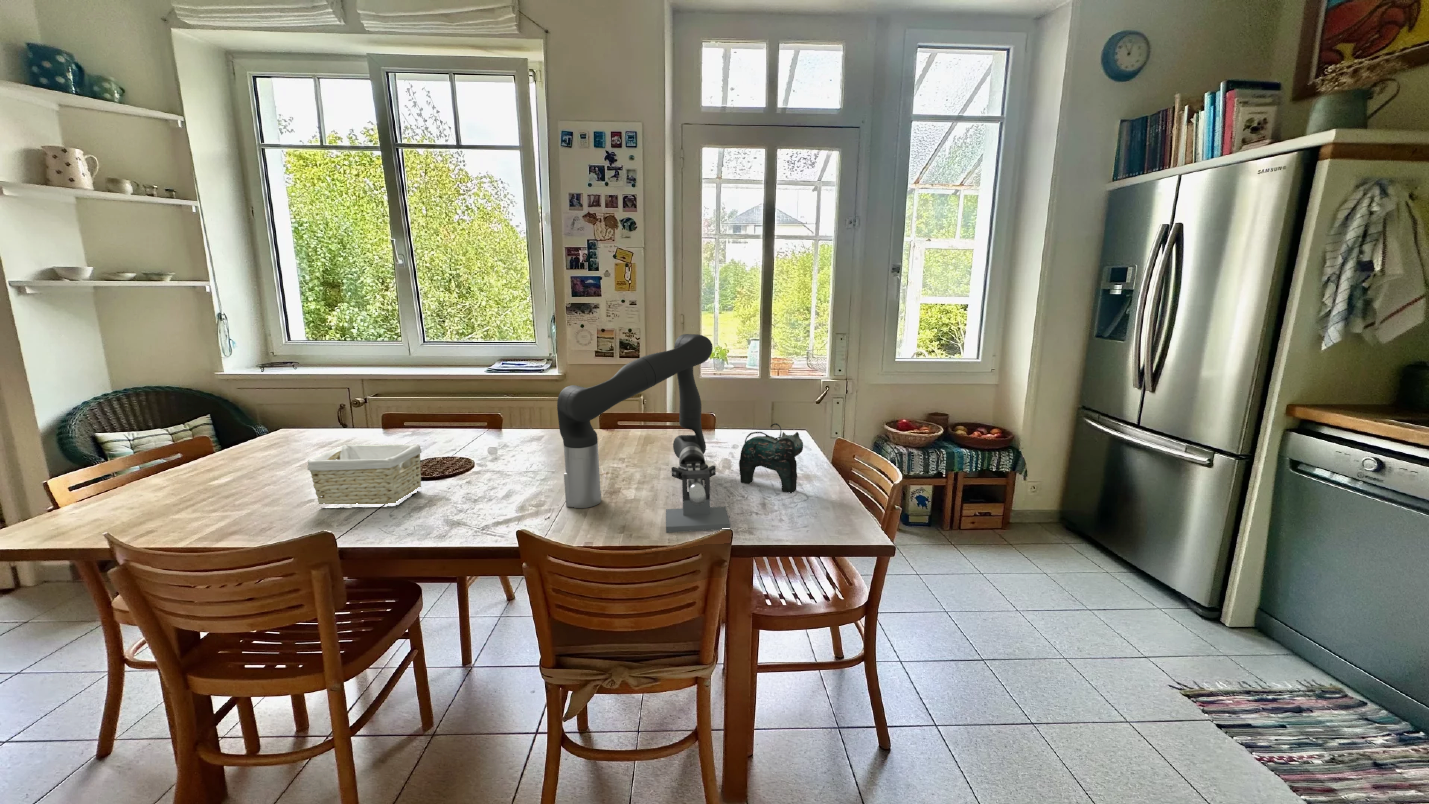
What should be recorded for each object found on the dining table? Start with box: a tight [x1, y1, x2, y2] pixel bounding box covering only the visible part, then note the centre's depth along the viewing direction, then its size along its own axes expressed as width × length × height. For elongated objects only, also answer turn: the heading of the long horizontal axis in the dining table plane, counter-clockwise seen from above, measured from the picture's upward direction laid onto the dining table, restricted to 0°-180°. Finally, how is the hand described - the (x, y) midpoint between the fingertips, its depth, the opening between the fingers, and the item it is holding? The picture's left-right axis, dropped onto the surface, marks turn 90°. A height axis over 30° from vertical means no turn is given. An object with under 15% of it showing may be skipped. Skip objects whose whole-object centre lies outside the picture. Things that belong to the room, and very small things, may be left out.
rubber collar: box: [681, 470, 711, 502], centre depth 140 cm, size 7×3×7 cm, turn 95°
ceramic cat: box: [738, 422, 804, 494], centre depth 161 cm, size 20×6×20 cm, turn 56°
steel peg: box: [687, 479, 706, 505], centre depth 137 cm, size 4×11×4 cm, turn 5°
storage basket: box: [306, 443, 422, 505], centre depth 155 cm, size 24×16×15 cm
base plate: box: [665, 499, 731, 533], centre depth 139 cm, size 16×11×6 cm
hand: (695, 481), depth 142 cm, fingers closed
